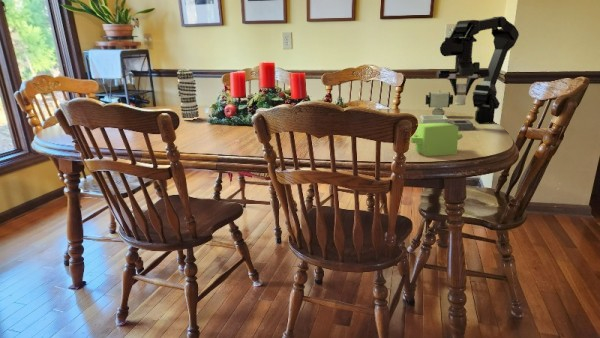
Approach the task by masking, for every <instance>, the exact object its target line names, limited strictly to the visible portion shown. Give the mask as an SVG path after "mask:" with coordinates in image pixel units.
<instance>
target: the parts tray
mask: <svg viewBox="0 0 600 338" xmlns="http://www.w3.org/2000/svg"><path fill="white" fill-rule="evenodd" d="M419 117H420V118H419V122H420V124H425V123H449V118H448V117H447V116H446V115H445V114H444V115H432V114H429V115H428V114H423V115H422V114H421V115H420V116H419Z"/></svg>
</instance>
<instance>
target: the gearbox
mask: <svg viewBox="0 0 600 338" xmlns="http://www.w3.org/2000/svg"><path fill="white" fill-rule="evenodd" d="M417 124H418V128H417V130H415V134H413V136H412V137H411V139H410V143H411V144H415V150H414V151H416V152H418V153H419V154H421V155H423V156H429V157H431V156H447V155H456V154H458V153H457V152H458V144H459V143H458V141H459V140H462V139H463V137H464V136H463V133H461V132H459V130H458V128H459V127H458V126H457V125H453V124H449V122H448V123H425V124H421V123H417Z"/></svg>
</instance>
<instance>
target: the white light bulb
mask: <svg viewBox="0 0 600 338" xmlns="http://www.w3.org/2000/svg"><path fill="white" fill-rule="evenodd" d="M466 86H467V84H466V83H456V87H457V93H456V96H455V102H454V104H455V106H465V105H466Z"/></svg>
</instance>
